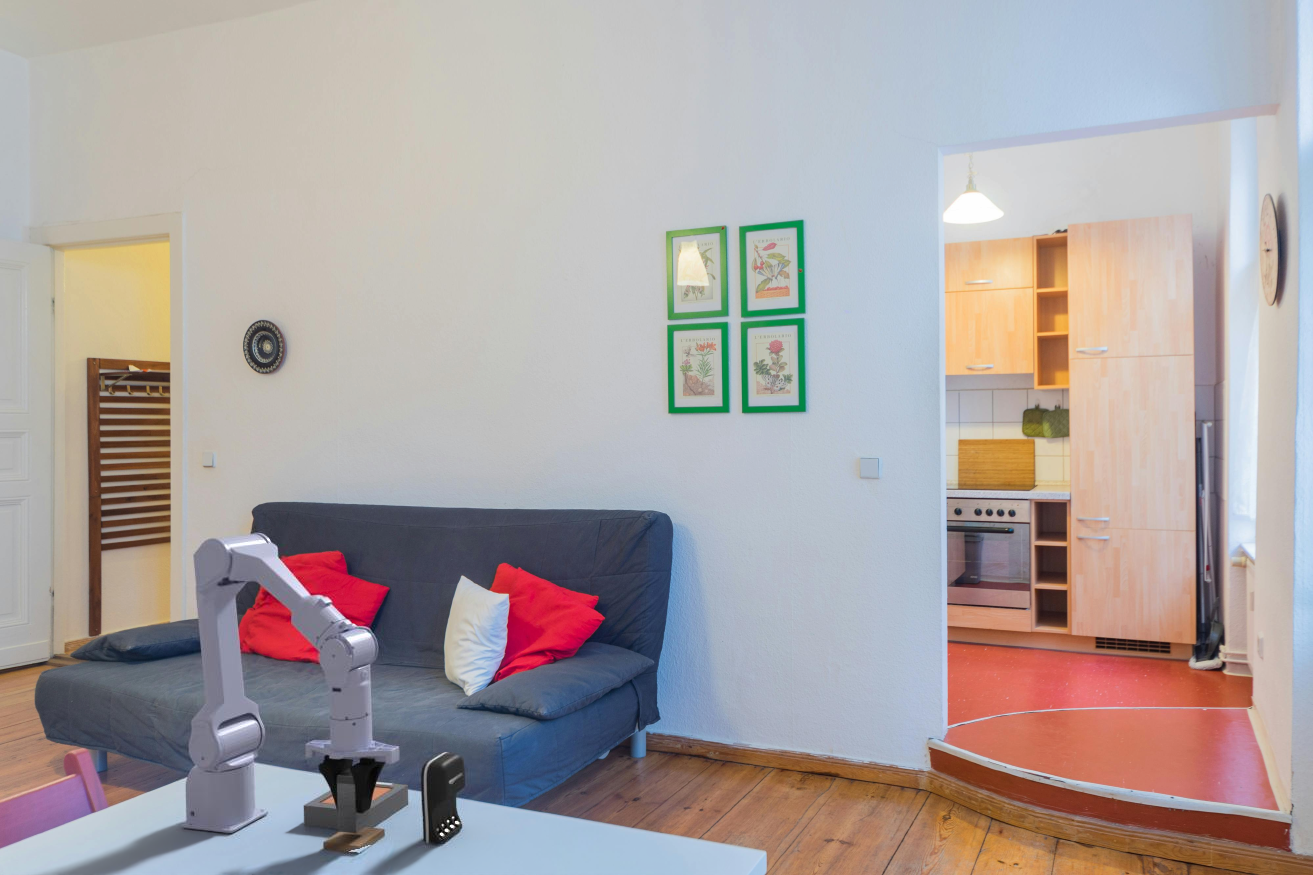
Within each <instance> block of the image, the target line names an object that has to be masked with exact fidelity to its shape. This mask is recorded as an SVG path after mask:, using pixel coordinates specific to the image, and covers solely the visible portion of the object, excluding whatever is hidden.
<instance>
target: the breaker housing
mask: <svg viewBox="0 0 1313 875" xmlns="http://www.w3.org/2000/svg"><path fill="white" fill-rule="evenodd" d="M375 787H377V788H388V789H391V790H390V791H388V792H386V793H385V794H383V795H382V796H380V797H378V798H377V799H375V800H374V801H372V802H371V807H370V809H369V825H368V826H367V827H371V828H376V826H378V825H379V824H381V823H382V822H383V821H385V820H387V819H388V818H390V817H391V816H393V815H394V814H396V813H397V812H398V811H400V810H402V809H403V808H404V807H406V806H408V805H409V785H408V784H402V783H401V784H400V783H393V782H392V783H391V782H383V781H382V782H381V781H377V782H376V785H375ZM330 797H332V793H331V790H330V789H329V791H326V792H325V793H323V794H321V795H319V796H318V797H316V798H314V799H313V800H310V801H308V802H307V803H305V804H304V805H303V825H304V826H306V827H314V828H315V827H317V828H324V829H325V828H326V829H335V830H338V811H337V809H336V805H335V804H329V803H321V802H323V801H325V800H327V799H328V798H330Z"/></svg>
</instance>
